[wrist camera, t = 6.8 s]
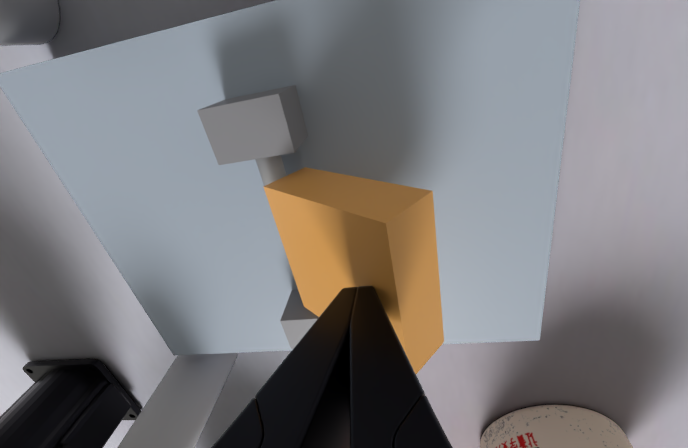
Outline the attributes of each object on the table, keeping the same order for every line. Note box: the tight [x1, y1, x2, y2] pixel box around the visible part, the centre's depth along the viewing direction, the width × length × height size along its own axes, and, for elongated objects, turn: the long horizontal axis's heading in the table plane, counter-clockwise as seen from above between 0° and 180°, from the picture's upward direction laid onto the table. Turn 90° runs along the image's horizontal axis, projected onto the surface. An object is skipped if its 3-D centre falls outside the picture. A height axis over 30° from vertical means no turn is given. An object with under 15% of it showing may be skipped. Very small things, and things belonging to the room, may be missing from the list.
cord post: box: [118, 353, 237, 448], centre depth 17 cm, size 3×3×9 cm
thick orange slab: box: [263, 167, 444, 374], centre depth 10 cm, size 2×5×5 cm
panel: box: [0, 0, 580, 355], centre depth 13 cm, size 18×14×4 cm
